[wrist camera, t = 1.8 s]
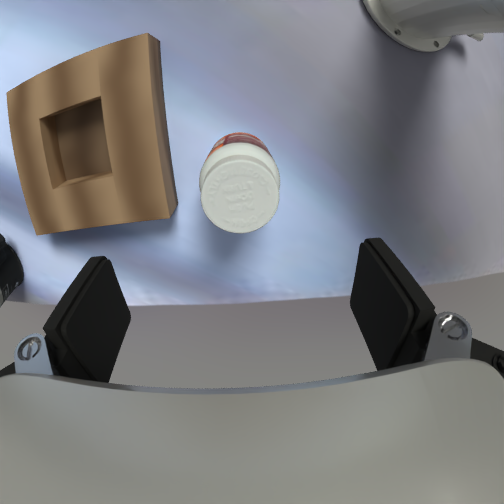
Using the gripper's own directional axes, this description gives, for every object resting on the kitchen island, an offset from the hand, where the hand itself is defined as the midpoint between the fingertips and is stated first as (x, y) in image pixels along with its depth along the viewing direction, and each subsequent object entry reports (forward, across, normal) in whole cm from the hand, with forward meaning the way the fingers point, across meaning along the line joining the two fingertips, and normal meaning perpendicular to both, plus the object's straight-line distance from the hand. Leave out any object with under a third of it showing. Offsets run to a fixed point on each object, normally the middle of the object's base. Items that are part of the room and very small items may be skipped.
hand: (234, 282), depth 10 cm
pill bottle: (+20, 0, 0) cm, 21 cm away
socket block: (+20, +16, -5) cm, 26 cm away
